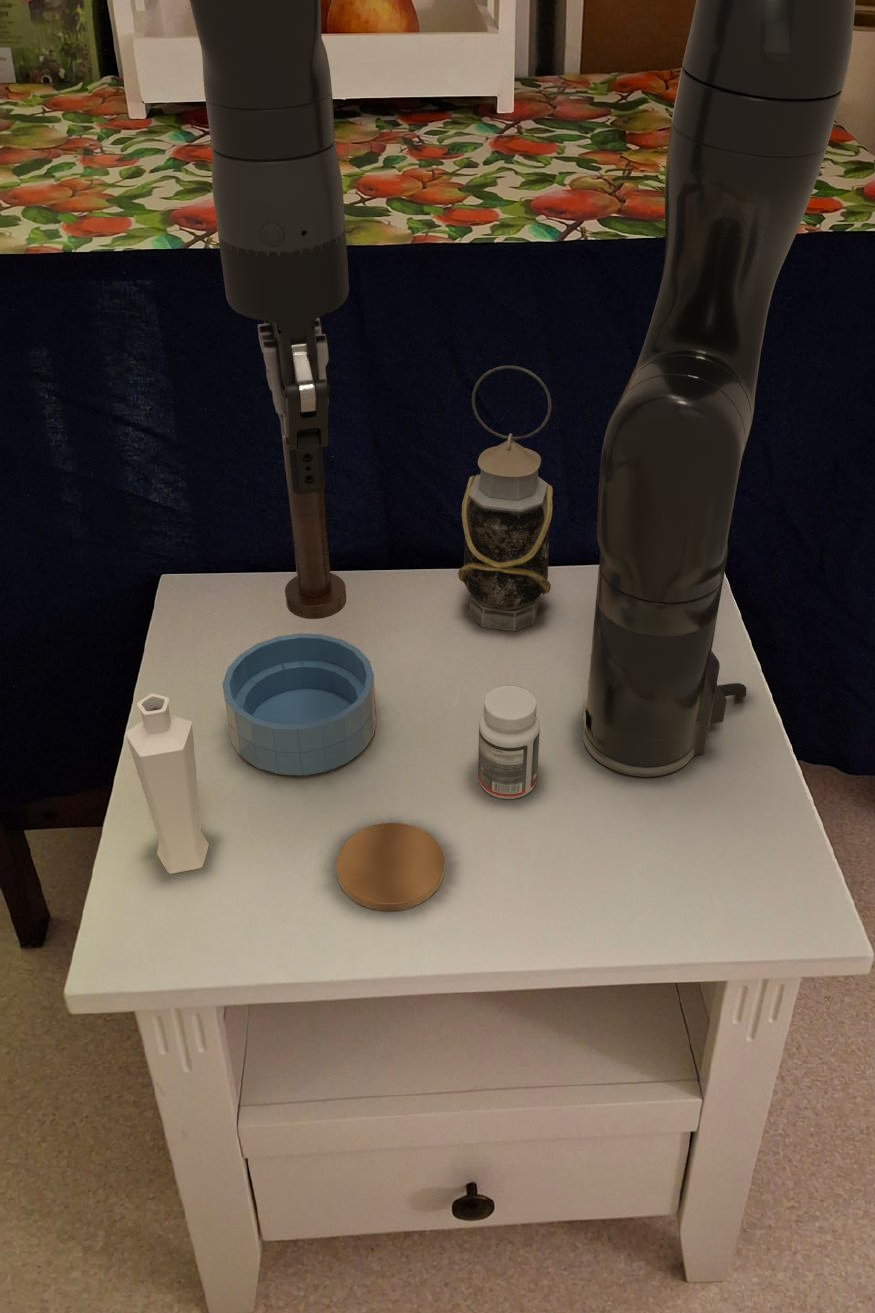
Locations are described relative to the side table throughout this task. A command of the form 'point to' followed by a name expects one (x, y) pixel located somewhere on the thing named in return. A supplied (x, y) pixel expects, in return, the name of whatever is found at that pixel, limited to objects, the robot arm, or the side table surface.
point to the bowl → (300, 703)
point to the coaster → (390, 866)
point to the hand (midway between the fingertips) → (305, 478)
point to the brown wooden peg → (311, 556)
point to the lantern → (506, 531)
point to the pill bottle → (508, 743)
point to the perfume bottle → (169, 783)
